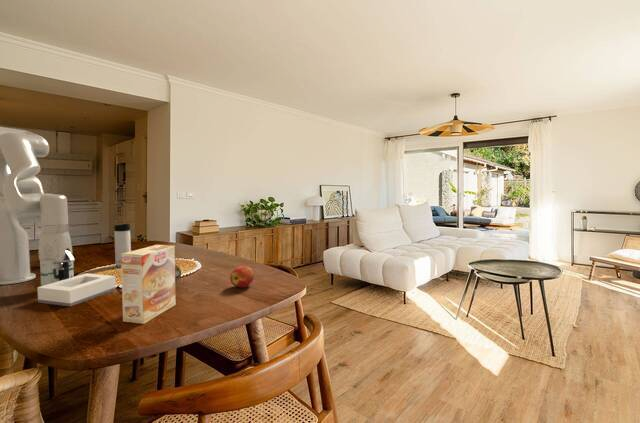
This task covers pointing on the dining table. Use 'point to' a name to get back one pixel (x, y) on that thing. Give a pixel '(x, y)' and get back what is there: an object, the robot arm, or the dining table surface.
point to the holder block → (76, 289)
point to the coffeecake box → (148, 282)
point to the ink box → (51, 271)
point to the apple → (242, 276)
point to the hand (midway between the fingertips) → (57, 278)
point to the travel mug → (121, 241)
